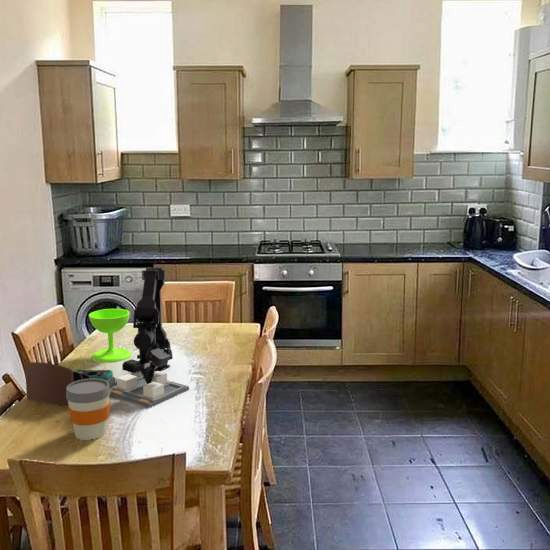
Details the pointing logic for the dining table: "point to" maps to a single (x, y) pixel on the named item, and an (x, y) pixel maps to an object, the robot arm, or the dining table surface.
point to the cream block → (160, 377)
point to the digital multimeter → (97, 373)
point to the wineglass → (110, 333)
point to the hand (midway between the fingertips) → (148, 383)
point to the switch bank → (139, 398)
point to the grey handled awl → (111, 381)
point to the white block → (127, 382)
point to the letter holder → (49, 382)
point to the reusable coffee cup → (88, 407)
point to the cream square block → (153, 390)
